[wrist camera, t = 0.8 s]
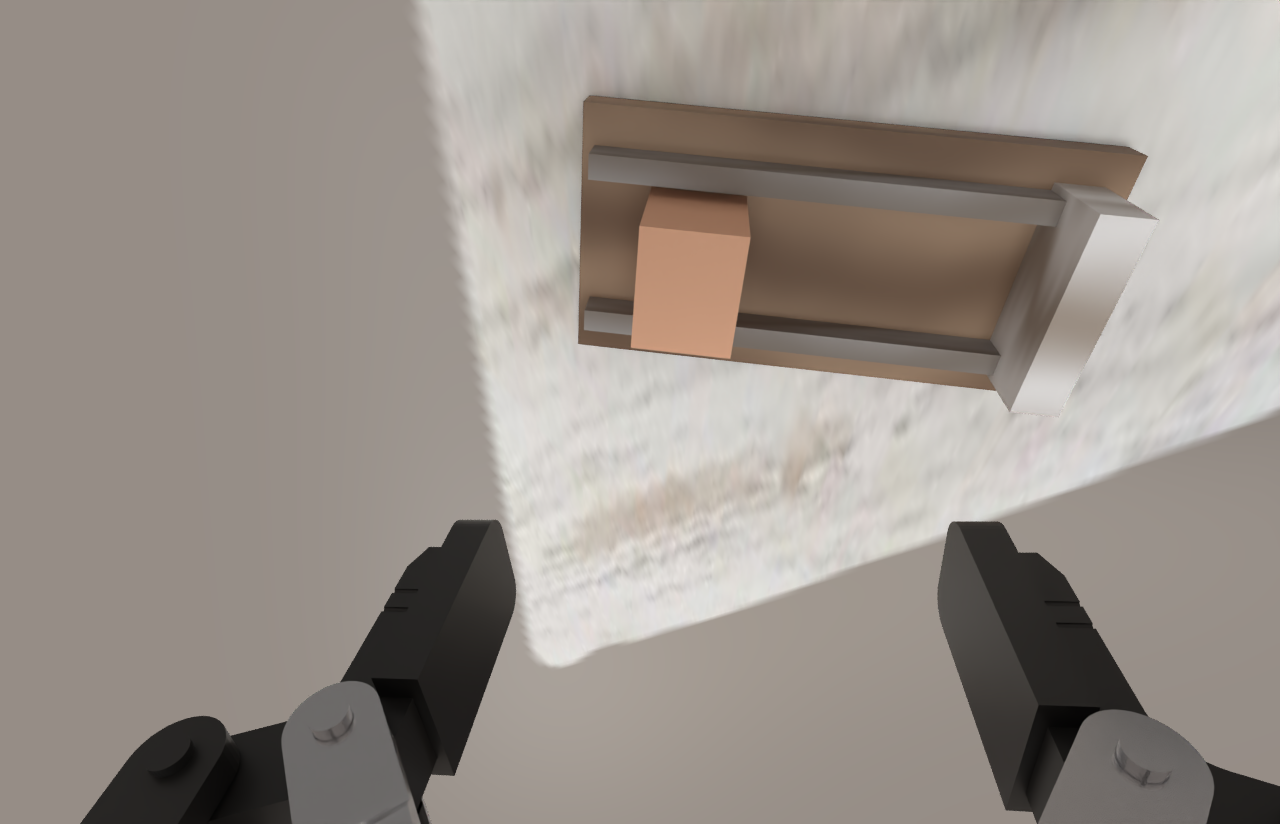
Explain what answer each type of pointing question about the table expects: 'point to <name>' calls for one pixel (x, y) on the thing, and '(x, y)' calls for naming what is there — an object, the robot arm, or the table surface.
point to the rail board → (877, 242)
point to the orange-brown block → (690, 272)
